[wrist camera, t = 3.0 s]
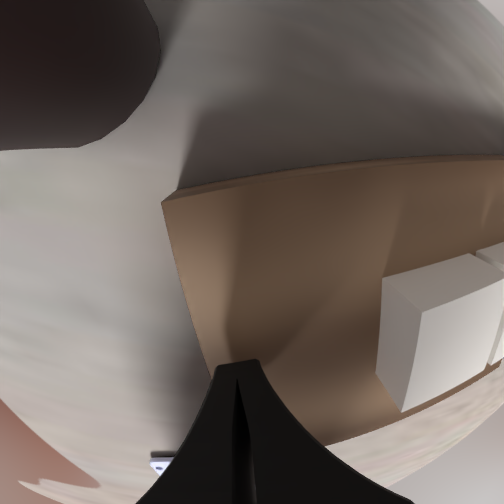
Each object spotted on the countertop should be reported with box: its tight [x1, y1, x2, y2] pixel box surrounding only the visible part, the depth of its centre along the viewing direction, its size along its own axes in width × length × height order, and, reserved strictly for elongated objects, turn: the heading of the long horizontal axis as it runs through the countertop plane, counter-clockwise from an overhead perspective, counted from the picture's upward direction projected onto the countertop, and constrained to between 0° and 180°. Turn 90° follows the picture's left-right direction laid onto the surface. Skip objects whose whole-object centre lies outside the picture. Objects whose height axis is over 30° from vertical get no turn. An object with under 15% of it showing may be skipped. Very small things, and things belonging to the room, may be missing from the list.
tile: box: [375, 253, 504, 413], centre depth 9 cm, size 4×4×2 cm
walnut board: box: [161, 155, 504, 446], centre depth 12 cm, size 13×17×3 cm
